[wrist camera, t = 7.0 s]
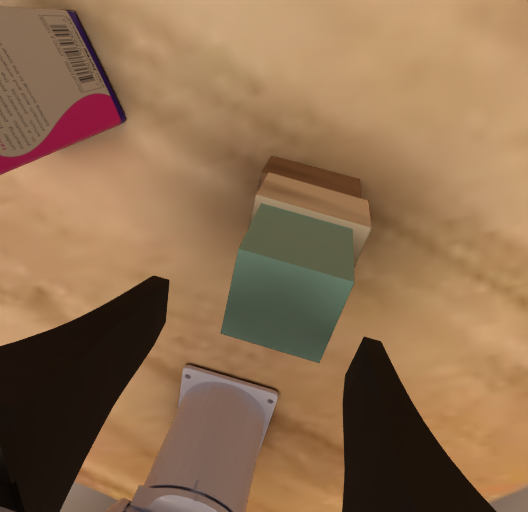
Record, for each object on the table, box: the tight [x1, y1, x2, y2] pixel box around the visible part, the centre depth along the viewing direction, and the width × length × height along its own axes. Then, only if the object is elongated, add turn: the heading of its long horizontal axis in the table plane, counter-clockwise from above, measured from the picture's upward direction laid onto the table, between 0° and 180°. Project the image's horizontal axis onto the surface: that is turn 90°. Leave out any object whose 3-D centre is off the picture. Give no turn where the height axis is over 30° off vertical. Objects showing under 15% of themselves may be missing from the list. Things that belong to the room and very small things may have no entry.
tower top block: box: [248, 172, 371, 267], centre depth 18 cm, size 5×5×3 cm
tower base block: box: [258, 156, 361, 198], centre depth 21 cm, size 5×5×3 cm
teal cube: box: [221, 203, 354, 363], centre depth 15 cm, size 4×4×4 cm
